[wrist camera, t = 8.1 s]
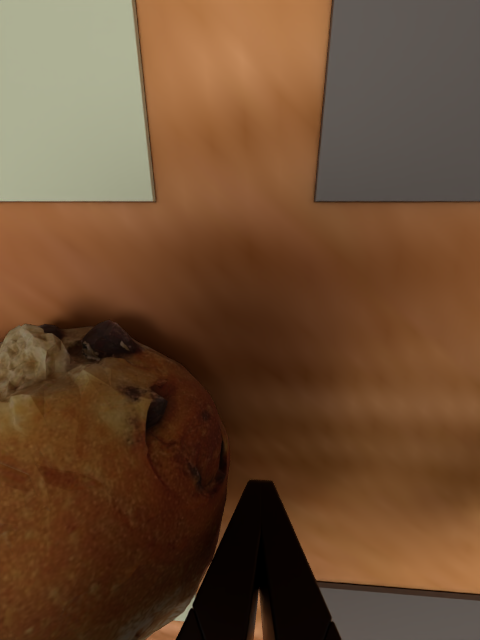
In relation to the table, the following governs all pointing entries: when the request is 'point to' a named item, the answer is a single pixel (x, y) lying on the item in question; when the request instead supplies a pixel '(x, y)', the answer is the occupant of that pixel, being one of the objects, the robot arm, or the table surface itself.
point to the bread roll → (103, 485)
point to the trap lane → (332, 168)
